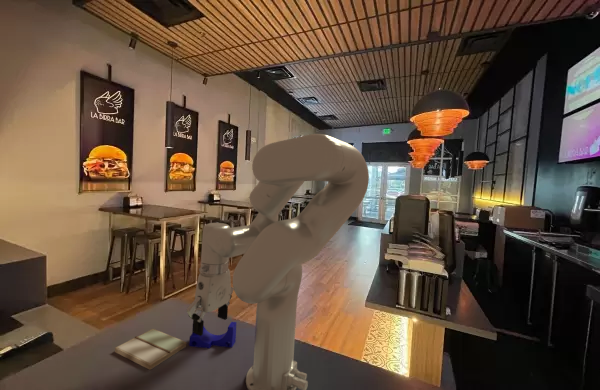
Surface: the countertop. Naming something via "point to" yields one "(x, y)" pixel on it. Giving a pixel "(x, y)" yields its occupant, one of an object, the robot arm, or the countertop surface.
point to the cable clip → (214, 338)
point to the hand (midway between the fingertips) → (210, 325)
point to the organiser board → (150, 348)
